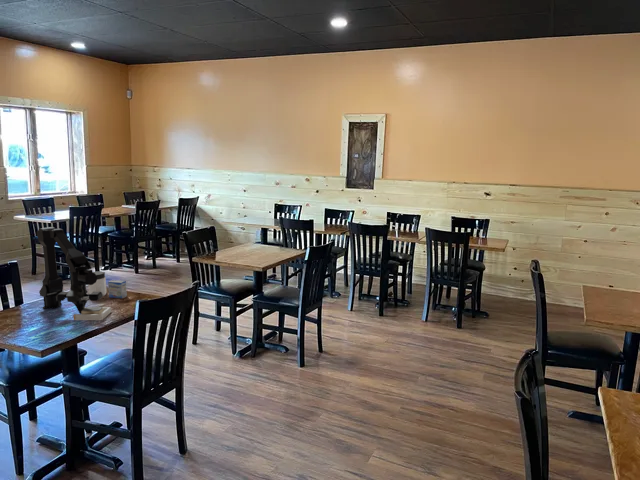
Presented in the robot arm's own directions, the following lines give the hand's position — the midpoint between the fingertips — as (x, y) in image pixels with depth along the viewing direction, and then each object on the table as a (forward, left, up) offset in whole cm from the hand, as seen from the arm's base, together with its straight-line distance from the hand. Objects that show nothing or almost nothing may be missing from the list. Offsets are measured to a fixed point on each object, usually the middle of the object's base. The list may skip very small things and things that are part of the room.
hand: (81, 313), depth 219 cm
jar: (-6, +34, -1) cm, 35 cm away
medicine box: (+6, +30, -2) cm, 31 cm away
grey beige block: (+6, 0, -2) cm, 6 cm away
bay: (+6, 0, -1) cm, 6 cm away
